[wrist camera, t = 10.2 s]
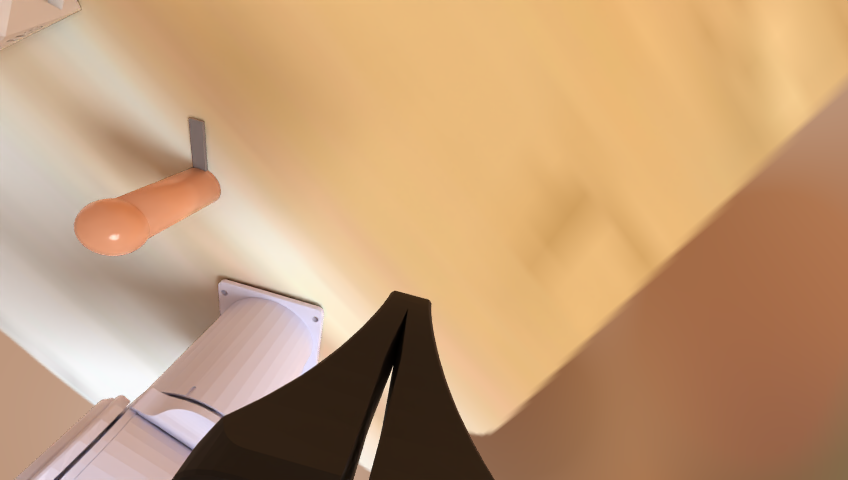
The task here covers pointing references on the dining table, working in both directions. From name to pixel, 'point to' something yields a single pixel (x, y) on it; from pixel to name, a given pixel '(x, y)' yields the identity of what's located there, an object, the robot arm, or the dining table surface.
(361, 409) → the robot arm
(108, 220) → the pair of orange pieces
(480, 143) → the dining table surface
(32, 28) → the die
